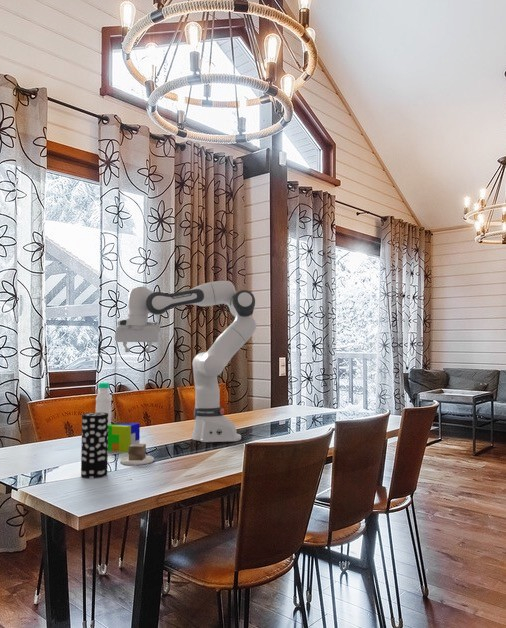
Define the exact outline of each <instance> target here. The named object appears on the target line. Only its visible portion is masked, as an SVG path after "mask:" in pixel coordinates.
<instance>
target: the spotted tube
mask: <svg viewBox="0 0 506 628" xmlns="http://www.w3.org/2000/svg"><path fill="white" fill-rule="evenodd" d="M80 453H81V454H80V457H81V458H80V459H81V462H80V467H81V468H80V477H81V478H83V479H90V480H92V479H93V480H94V479H100V478H104V477H106V476H108V466H109V465H108V457H109V456H108V455H109V454H108V453H109V451H108V413H95V412H85V413H82V414H81V452H80Z"/></svg>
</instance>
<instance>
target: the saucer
mask: <svg viewBox="0 0 506 628" xmlns="http://www.w3.org/2000/svg"><path fill="white" fill-rule="evenodd" d="M154 461H155V457H153V455H148V454H146V457H145V458H144V459H143V460H129V455H128V456H123V457H121V458H120V459H119V462H120V464H121V465H124V466H144V465H149V464H152V463H154Z"/></svg>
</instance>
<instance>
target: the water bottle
mask: <svg viewBox="0 0 506 628" xmlns="http://www.w3.org/2000/svg"><path fill="white" fill-rule="evenodd" d="M97 386H98V393H97V395H96V397H95V412H94V413H108V425H110V424H112V396H111V393H110V392H109V389H110V383H109V382H99V383H98V385H97Z"/></svg>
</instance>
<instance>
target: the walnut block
mask: <svg viewBox="0 0 506 628" xmlns="http://www.w3.org/2000/svg"><path fill="white" fill-rule="evenodd" d="M146 447H147V443H140V444H131V445H130V446H129V451H128V456H129V460H143V459H144V458H145V457H146V455H147V448H146Z"/></svg>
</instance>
